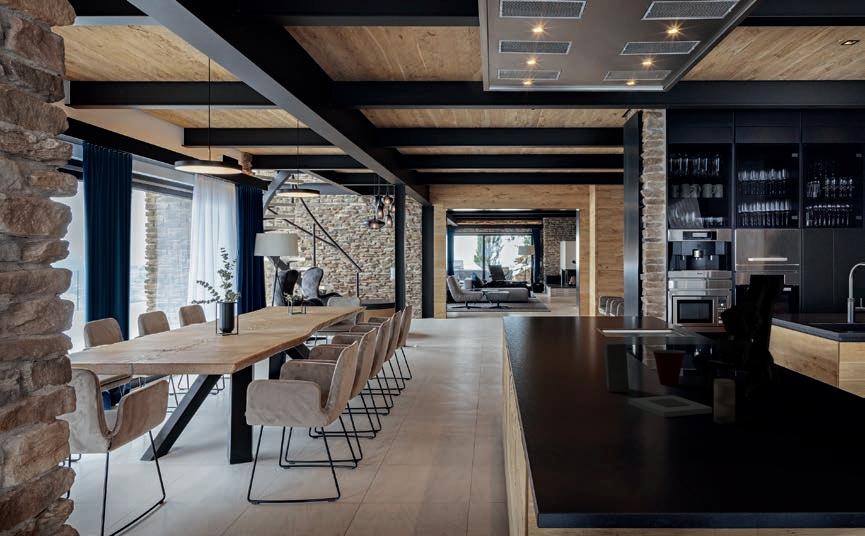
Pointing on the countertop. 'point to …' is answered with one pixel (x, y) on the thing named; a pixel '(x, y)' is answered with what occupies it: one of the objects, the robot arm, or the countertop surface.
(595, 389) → the countertop surface
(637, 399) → the sage board
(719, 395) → the ash sleeve
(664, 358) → the plastic cup
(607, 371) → the skincare box
